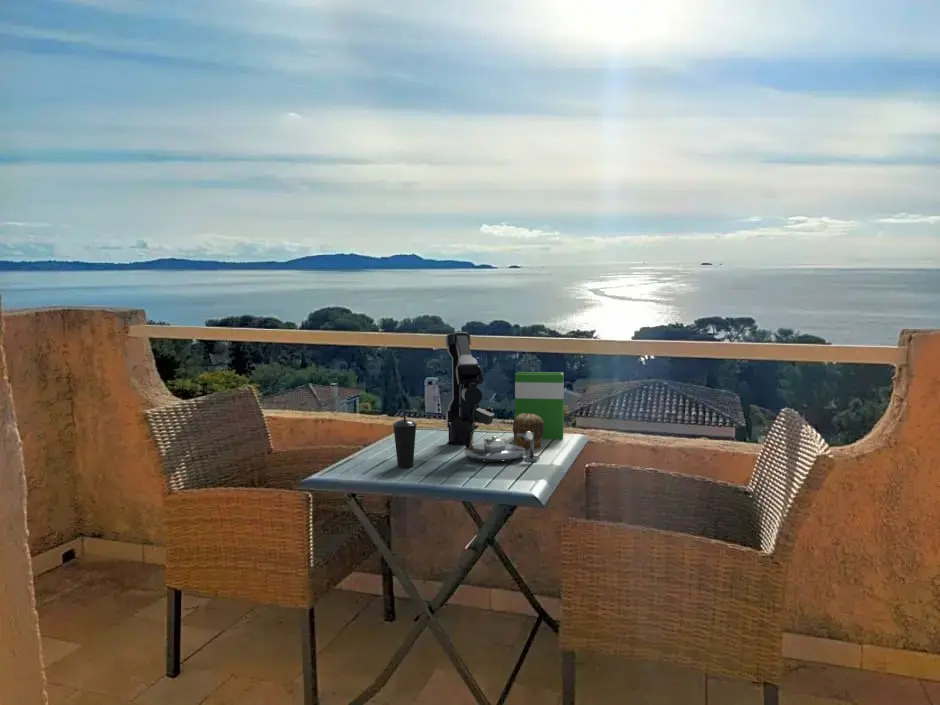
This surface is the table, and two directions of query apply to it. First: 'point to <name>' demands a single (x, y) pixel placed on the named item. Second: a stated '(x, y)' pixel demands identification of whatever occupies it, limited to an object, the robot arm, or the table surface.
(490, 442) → the cover
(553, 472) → the table surface
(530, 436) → the dial stand
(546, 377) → the hardback book
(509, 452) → the platter
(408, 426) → the drinking cup
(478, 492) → the table surface
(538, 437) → the shell
